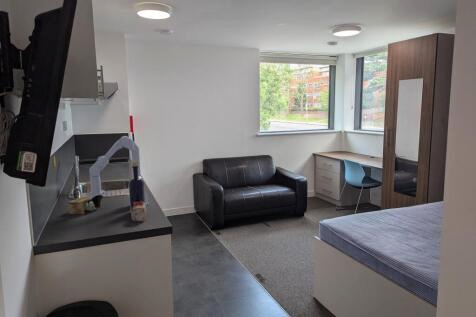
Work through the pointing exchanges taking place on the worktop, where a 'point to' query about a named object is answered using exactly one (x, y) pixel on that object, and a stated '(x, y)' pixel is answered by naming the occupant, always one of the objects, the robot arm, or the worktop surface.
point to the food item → (139, 212)
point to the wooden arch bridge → (79, 205)
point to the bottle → (136, 187)
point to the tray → (89, 206)
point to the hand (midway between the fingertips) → (97, 207)
